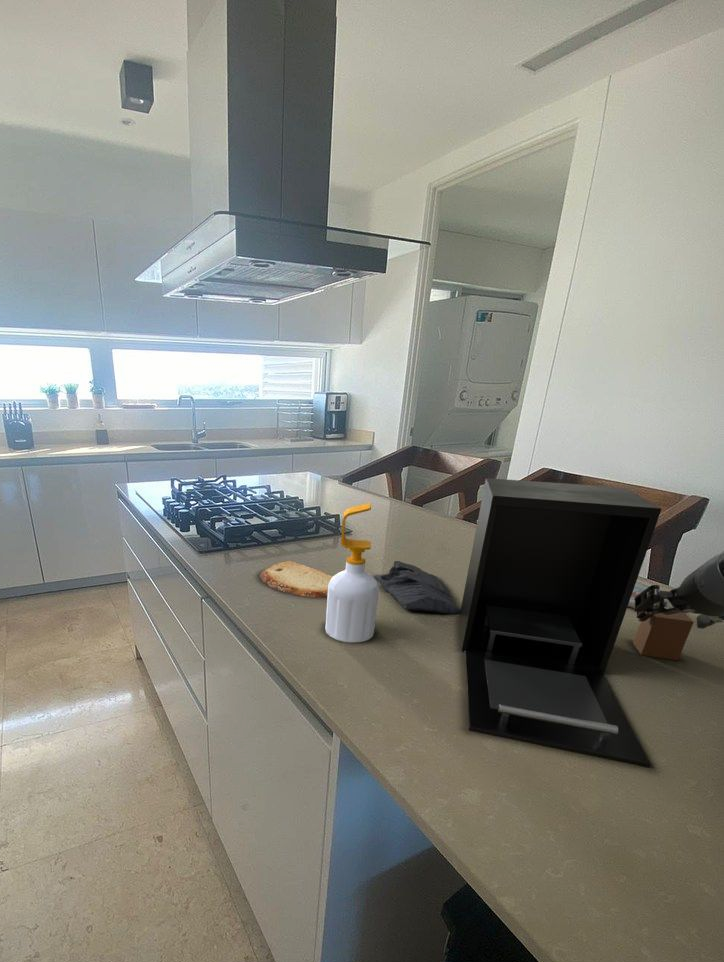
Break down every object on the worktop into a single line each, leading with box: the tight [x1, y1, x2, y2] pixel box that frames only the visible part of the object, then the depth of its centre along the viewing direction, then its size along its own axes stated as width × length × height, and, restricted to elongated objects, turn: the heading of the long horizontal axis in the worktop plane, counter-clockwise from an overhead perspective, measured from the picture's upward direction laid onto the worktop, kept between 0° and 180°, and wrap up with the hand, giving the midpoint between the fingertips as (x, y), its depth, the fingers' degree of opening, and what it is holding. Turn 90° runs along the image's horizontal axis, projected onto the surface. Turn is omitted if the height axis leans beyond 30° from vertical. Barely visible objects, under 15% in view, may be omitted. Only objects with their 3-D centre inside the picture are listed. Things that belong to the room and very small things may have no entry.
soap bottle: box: [325, 502, 380, 644], centre depth 87 cm, size 9×9×25 cm
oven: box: [459, 477, 662, 769], centre depth 74 cm, size 22×38×28 cm, turn 162°
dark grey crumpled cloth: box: [374, 560, 461, 615], centre depth 108 cm, size 15×22×5 cm
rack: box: [483, 605, 582, 664], centre depth 87 cm, size 14×11×4 cm
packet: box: [632, 612, 695, 661], centre depth 85 cm, size 6×4×8 cm
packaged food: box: [627, 581, 671, 610], centre depth 105 cm, size 9×12×5 cm
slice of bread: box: [259, 560, 333, 598], centre depth 113 cm, size 18×18×4 cm
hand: (669, 619), depth 84 cm, fingers open, 8 cm apart
